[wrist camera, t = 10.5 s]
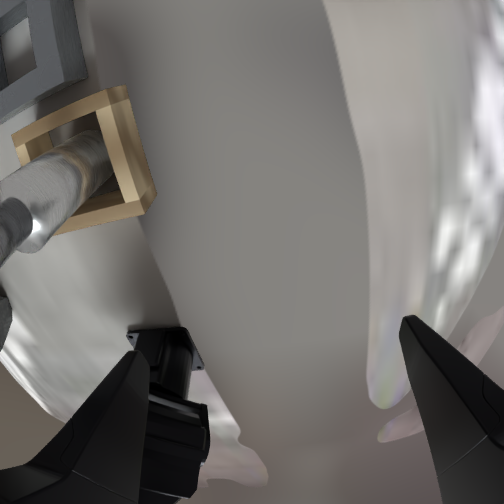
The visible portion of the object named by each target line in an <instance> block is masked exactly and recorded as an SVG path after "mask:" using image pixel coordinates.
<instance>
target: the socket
mask: <svg viewBox="0 0 504 504" xmlns="http://www.w3.org/2000/svg"><path fill="white" fill-rule="evenodd" d="M26 17H28V20H29V27H30V34H31V40H32V46H33V51H34V56H35V61H36V66H37V68H35V69H34V70H32V71H30V72H29V73H27V74H26V75H24V76H23V77H21V78H20V79H18V80H16V81H15V82H14V83H12V84H11V85H8V80H7V75H6V71H5V65H4V60H3V54H2V48H1V41H0V124H2V123H4V122H6V121H7V120H9V119H10V118H12V117H13V116H15V115H17V114H18V113H20V112H22V111H23V110H25V109H27V108H28V107H30V106H32V105H34V104H35V103H37V102H39V101H41V100H43V99H44V98H46V97H48V96H50V95H52V94H54V93H56V92H58V91H60V90H62V89H64V88H66V87H68V86H70V85H72V84H74V83H76V82H78V81H80V80H83V79H85V78H87V77H88V74H87V70H86V66H85V62H84V57H83V53H82V48H81V43H80V38H79V33H78V28H77V22H76V17H75V11H74V5H73V0H0V37H1V36H2V35H3V34H4V33H6V32H7V31H8V30H10V29H11V28H12V27H14V26H15V25H17V24H18V23H19V22H21V21H22V20H24V19H25V18H26Z"/></svg>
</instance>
